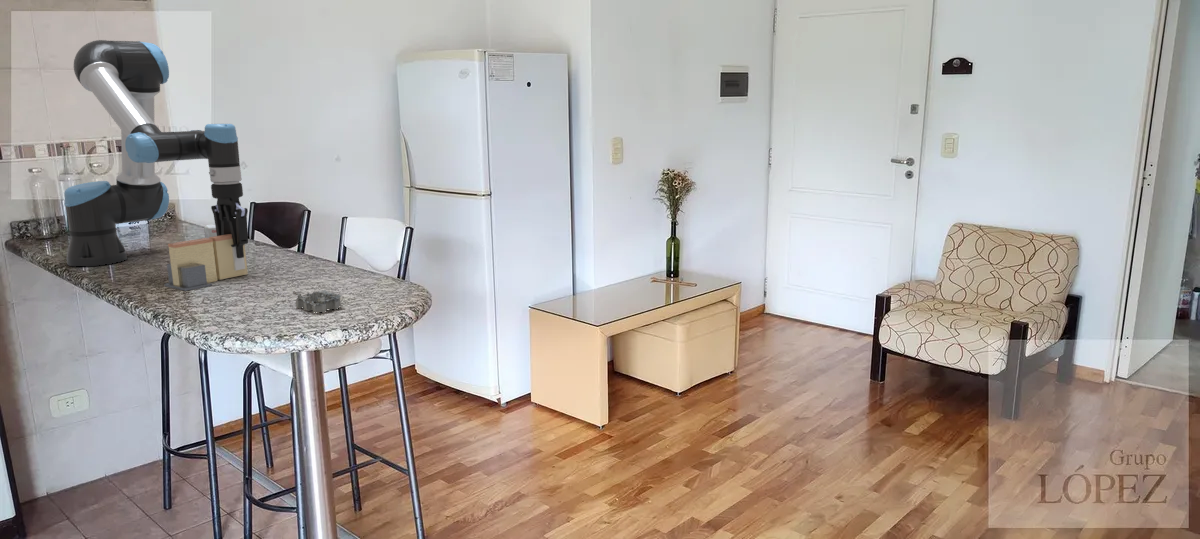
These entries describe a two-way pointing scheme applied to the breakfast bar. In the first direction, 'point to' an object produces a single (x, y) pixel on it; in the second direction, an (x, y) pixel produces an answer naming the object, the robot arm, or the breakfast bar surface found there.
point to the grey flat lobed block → (318, 301)
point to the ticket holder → (191, 264)
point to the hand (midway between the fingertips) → (235, 268)
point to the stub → (226, 257)
